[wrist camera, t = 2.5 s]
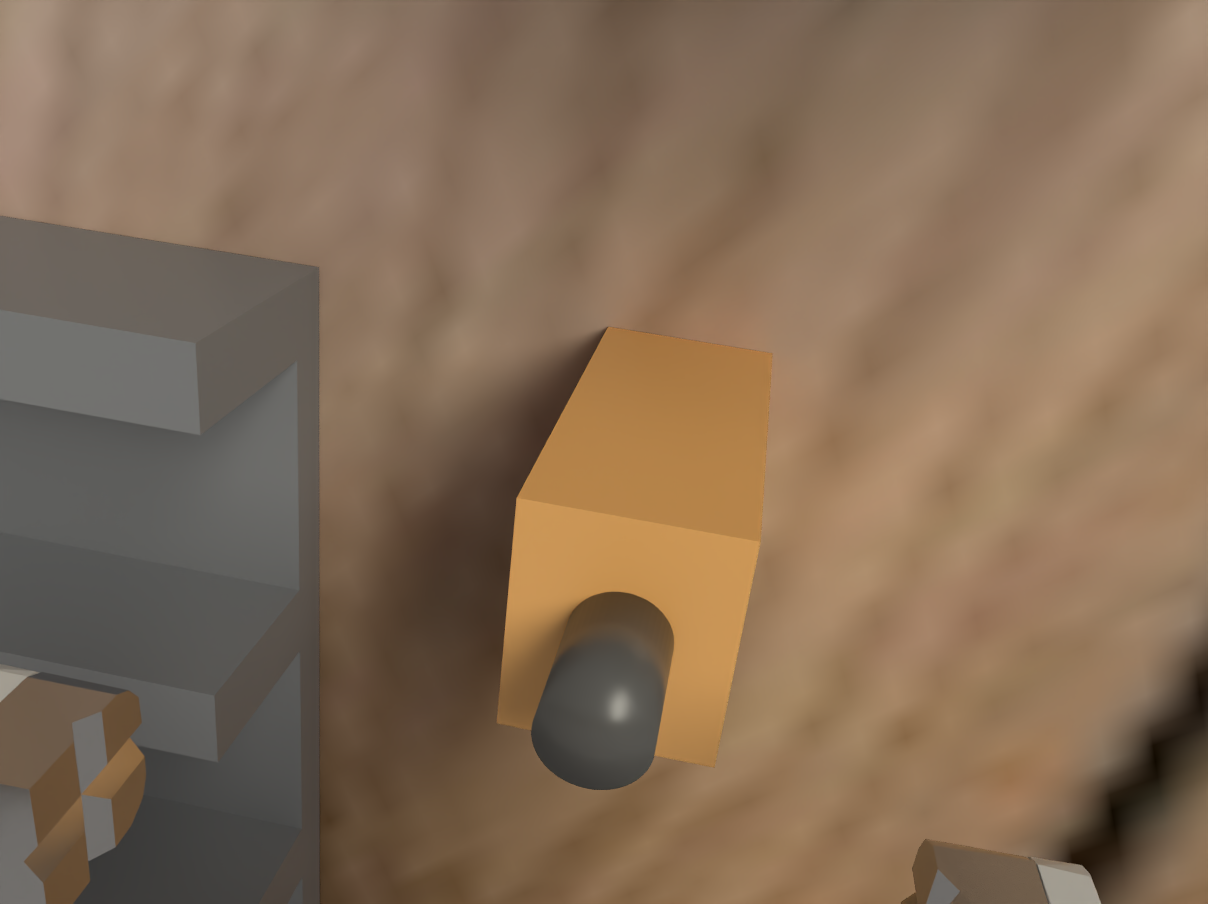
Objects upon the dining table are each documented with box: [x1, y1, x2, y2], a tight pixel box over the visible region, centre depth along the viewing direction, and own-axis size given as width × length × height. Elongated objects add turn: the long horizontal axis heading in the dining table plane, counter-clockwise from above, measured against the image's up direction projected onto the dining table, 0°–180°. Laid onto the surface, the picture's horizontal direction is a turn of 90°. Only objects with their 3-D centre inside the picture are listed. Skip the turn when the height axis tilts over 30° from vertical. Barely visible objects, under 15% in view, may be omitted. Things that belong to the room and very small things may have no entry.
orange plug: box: [497, 327, 772, 790], centre depth 16 cm, size 3×4×9 cm
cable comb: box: [0, 216, 320, 904], centre depth 23 cm, size 10×21×4 cm, turn 174°
